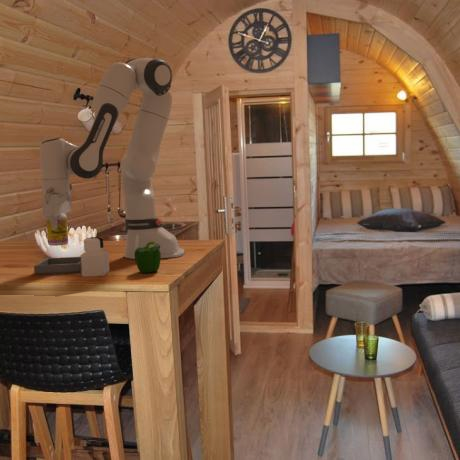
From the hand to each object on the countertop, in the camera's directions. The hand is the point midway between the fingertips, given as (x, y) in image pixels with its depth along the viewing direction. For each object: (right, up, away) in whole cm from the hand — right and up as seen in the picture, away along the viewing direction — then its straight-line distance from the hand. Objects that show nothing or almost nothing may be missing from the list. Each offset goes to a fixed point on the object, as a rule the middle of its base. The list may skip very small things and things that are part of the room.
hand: (58, 228), depth 186 cm
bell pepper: (+31, -14, -7) cm, 35 cm away
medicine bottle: (+14, -15, -7) cm, 22 cm away
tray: (+1, -14, +2) cm, 14 cm away
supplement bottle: (0, -6, +1) cm, 6 cm away
